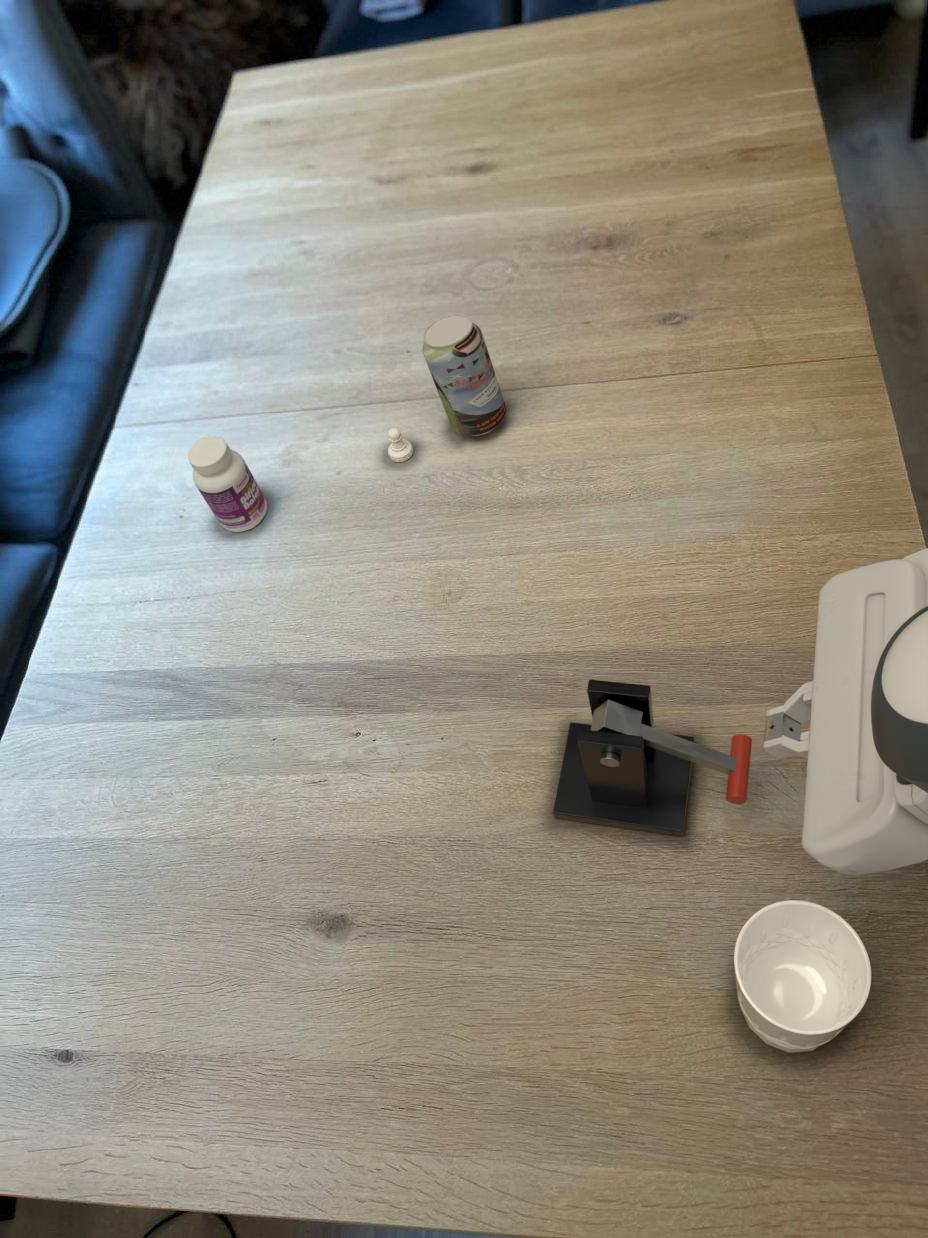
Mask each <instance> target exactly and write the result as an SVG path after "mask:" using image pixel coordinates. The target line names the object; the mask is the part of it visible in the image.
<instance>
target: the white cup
mask: <svg viewBox="0 0 928 1238" xmlns="http://www.w3.org/2000/svg"><path fill="white" fill-rule="evenodd" d="M733 965H734V980H735V989H736V994H737V999H738V1004H739V1005H738V1006H739V1007H740V1010H741V1012H742V1014H743V1017H744V1019H745V1022H746V1024H747V1027H748V1028H749V1029H750V1030H751V1031H752V1032H753V1033H754V1034H755V1035H756V1036H757V1037H758V1038H759V1039H760V1040H762V1041H763V1043H764V1044H766V1045H768V1046H770V1047H773V1048H776V1049H778V1050H780V1051H783V1052H786V1053H789V1054H793V1053H795V1054H796V1053H804V1052H805V1053H806V1052H813V1051H815V1050H817V1049H818V1048H820V1047H822V1045H825V1044H827V1043H829V1042H830V1041H832V1040H833V1039H834V1038H835V1037H837V1036H838V1035H839V1034H840V1033H842V1031H843V1030H845V1028H846V1027H847V1026H848V1025H849V1024H850V1023H851V1022H852V1021H853V1020H854V1019H855V1018H856V1017H857V1016H858V1015H859V1013H860V1012H861V1011H862V1009H863V1007H864V1006H865V1004H866V1002H867V1001H868V997H869V994H870V991H871V985H872V966H871V962H870V957H869V954H868V950H867V948H866V946H865V944H864V942H863V940H862V939H861V937H860V935H859V934H858V933H857V931H856V930H855V929H854V928H853V927H852V925H851V924H850V923H849V922H848V921H846V920H845V918H843V917H842V916H840V915H839V914H838V913H836V912H834V911H833V910H831V909H830V908H828V907H826V906H823V905H820V904H818V903H815V902H811V901H806V900H797V899H796V900H795V899H794V900H793V899H792V900H791V899H790V900H789V899H788V900H781V901H777V902H774V903H770V904H768V905H766V906H764V907H762V908H760V909H759V910H758V911H756V912H755V913H754V914H752V915H751V916H750V917H749V919H747V921H746V922H745V923H744V925H743V927H742V928H741V930H740V932H739V934H738V936H737V939H736V942H735V946H734V951H733Z"/></svg>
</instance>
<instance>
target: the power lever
mask: <svg viewBox="0 0 928 1238" xmlns="http://www.w3.org/2000/svg"><path fill="white" fill-rule="evenodd" d="M642 715H643V712H642V711H639V710H636V709H634V708H631V707H628V706H625V705H623V704H620V703H617V702H614V701H612V700H609V699H608V700H607V701H605V702H604V703H603V704H602V705H600V706H599V707H598V708H597V709H596V710H594V714H593V718H592V720H591V724H590V725H591V730H593V731H601V732H610V733H618V734H626V735H635V736H642V737H643V743H644V745H646V746H649V747H651V748H654V749H657V750H660V751H663V752H665V753H668V754H671V755H674V756H677V757H679V758H682V759H685V760H688V761H691V762H692V764H696V765H699V766H702V767H705V768H708V769H710V770H712V771H717V772H719V773H721V774H724V775H727V784H726V794H725V800H726V801H727V802H728V803H730V804H733V805H745V804H746V803H747V800H748V791H749V790H748V789H749V780H750V779H749V777H750V767H751V766H750V765H751V756H752V754H751V753H752V745H753V738H752V737H751V736H749V735H748V734H742V733H737V734H734V735H732V737H731V743H730V744H731V745H730V753H729V754H727V753H724V752H721V751H719V750H715V749H713V748H710V747H708V746H705V745H703V744H699V743H696V742H695V741H694V742H691V741H688V740H686V739H683V738H680V737H677V736H675V735H676V734H673V733H669V732H666V731H663V730H661V729H658V728H656V727H654V728H652V727H650V726H647V725H644V724H641V721H642ZM672 734H673V735H672Z"/></svg>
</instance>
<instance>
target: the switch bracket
mask: <svg viewBox="0 0 928 1238" xmlns="http://www.w3.org/2000/svg"><path fill="white" fill-rule="evenodd" d="M586 693H587V697H588V703H589V708H590V713H591V717H592V719H593V714H594V710H596V709H597V708H598V707H599V706H600V705H602V704H603V703H604V702H605V701H607V700H608V699H609V700H612V701H614V702H617V703H620V704H623V705H625V706H628V707H631V708H634V709H636V710H639V711H642V712H643V715H642V721H641V724H644V725H647V726H650V727H652V728H655V723H654V711H653V710H654V709H653V701H652V690H651V685H649V684H648V685H647V684H637V683H629V682H618V681H609V680H600V679H588V683H587V689H586ZM591 725H592V724H590V723H589V724H588V723H587V724H586V723H580V722H570V723H569V727H568V733H567V737H566V743H565V748H564V752H563V753H564V754H563V759H562V764H561V770H560V774H559V779H558V784H557V790H556V795H555V801H554V806H553V810H552V814H553V817H554V819H557V820H563V821H564V820H565V821H571V822H577V823H584V824H591V825H598V826H605V827H611V828H616V829H617V828H618V829H624V830H632V831H637V832H645V833H651V834H658V835H666V836H671V837H679V838H680V837H681V838H683V837H684V832H685V823H686V817H687V816H686V815H687V808H688V807H687V806H688V797H689V790H690V782H691V781H690V780H691V774H692V766H693V765H692V764H693V762H691V761H688V760H685V759H682V758H679V757H677V756H674V755H671V754H668V753H665V752H663V751H660V750H657V749H654V748H651V747H649V746H646V745H644V743H643V737H642V736H635V735H626V734H618V733H610V732H601V731H593V730H591ZM671 734H672V735H675V736H677V737H680V738H683V739H686V740H688V741H691V742H694V743H695V737H694V736H689V735H680V734H673V733H671Z"/></svg>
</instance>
